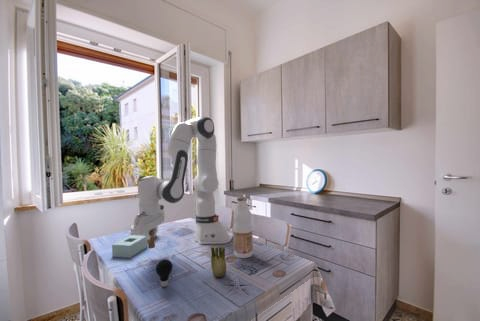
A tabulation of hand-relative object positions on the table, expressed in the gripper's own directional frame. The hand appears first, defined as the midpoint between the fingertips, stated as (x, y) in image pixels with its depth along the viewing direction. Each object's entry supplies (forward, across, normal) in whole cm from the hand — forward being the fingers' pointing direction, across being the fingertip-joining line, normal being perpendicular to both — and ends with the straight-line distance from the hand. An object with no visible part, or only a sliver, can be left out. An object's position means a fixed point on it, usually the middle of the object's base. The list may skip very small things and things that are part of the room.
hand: (151, 237), depth 109 cm
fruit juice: (+12, +10, -43) cm, 46 cm away
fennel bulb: (+11, -11, -37) cm, 40 cm away
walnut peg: (+5, 0, 0) cm, 5 cm away
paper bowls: (+10, +24, +21) cm, 33 cm away
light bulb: (+10, -22, -19) cm, 31 cm away
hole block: (+9, +5, +16) cm, 19 cm away
